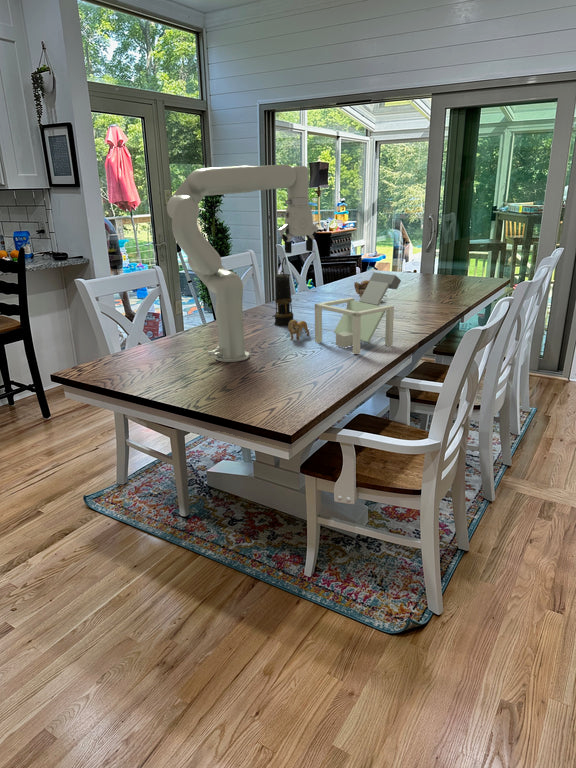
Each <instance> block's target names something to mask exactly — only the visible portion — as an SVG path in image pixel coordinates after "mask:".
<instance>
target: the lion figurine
mask: <svg viewBox="0 0 576 768" xmlns="http://www.w3.org/2000/svg"><path fill="white" fill-rule="evenodd" d="M287 327H288V328H287V329H288V332H289V333H290V338H289V340H290V341H293V340H294V335H295V336H296V338H295V339H296V341H298V342H299V341H300V337H301V336H302V334H303V332H302V331H303V329H304V330H305V334H306V337H307V336H308V337H310V330H309V329H308V324H307V322H306V321H305V320H300V321H298V320H297V319H294V320H291V321H290V322H289V325H288V326H287Z"/></svg>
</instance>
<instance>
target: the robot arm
mask: <svg viewBox="0 0 576 768" xmlns="http://www.w3.org/2000/svg"><path fill="white" fill-rule="evenodd" d="M280 189H287V190H286V191H287V199H285V201H284V202H285V204H286V205H287V207H286V209H285V217H284V225H283V226H282V227H280V228H279V229H278V231H277V232H278V234H279V237H280V239H282V242H284V253H285V254H292V253H293V252H292V246H293V245H292V241H291V240H292V238H293V237H303V236H305V238H306V240H305V250H306V251H307V252H313V251H314V250H313V249H314V248H313V247H314V245H313V243H314V240H315V238H316V236H317V234H318V230H319V227H318V226H317V225H315V224H314V221H313V212H312V208H311V206H309V205H310V203H309V202H310V201H309V199H310V198H309V194H310V193H309V169H308V167H307V166H305V165H289V164H271V165H237V166H222V167H221V166H219V167H216V166H215V167H203V168H199V169H197V168H196V169H194V170H193V171H192V172H191V173H190V174H189V175H187V177H186V178H185V180H184V181H183V182H181V185H179V187H178V188H177V189H176V190H175V192H174V193H173V194H172V195H171V196H170V198H169V199H168V202H167V204H166V212H167V214H168V216H169V218H171V219H172V220H171V229H172V234H173V238H174V239H175V241H176V243H177V245H178V246H179V247H180V249H181V250H182V252H183V253H184V254H185V255H186V256H187V264H188V265H189V267H190V269H191V271H193V273H194V274H195V275H196V276H197V278H198V279H199V280H200V281H201V282H202V283H203V285H204V286H205V287H206V288H207V289H209V291H210V292H211V293H213V294H215V296H216V300H215V316H216V329H217V330H216V331H217V341H218V345H217V346H216V347H215V349H213V350H208V351H206V355H207V357H208V358H209V357H212V356H213V357H214V358H215V360H216V361H218V362H223V363H236V362H241V361H245V360H248V359H249V357H250V352H248V351H246V348H245V331H244V315H243V314H244V313H243V297H244V296H243V295H244V283H243V281H242V279H241V277H240V276H239V275H238V274H237V273H236V272H234V271H231V270H228V269H226V268H225V267H224V266H223V265H222V261H223V260H222V257H221V256H220V254H219V253H218V251H217V250H216V249H215V248H214V247H213V246H212V244H210V242H209V241H208V240H207V239H206V237H205V236H204V234H203V233H202V232H201V230H200V228H199V225H198V218H199V214H200V206H199V204H200V203H201V201H202V200H203V199H204V197H205V196H217V195H229V194H230V195H231V194H232V195H233V194H234V195H235V194H242V193H243V194H244V193H245V194H246V193H250V192H251V193H252V192H257V191H264V190H265V191H266V190H268V191H269V190H280Z"/></svg>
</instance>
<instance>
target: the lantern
mask: <svg viewBox="0 0 576 768" xmlns="http://www.w3.org/2000/svg"><path fill="white" fill-rule="evenodd" d="M284 264H285V265H287V258H286V257H283V259H282V262H281V271H280V273H278V274H275V275H274V277H275V300H274V302H275V314H274V315H272V316H271V317H272V318H274V320H275V321H274V326H277V327H278V326H279V327H288V325H289V322H290V321H291V320H295V319H294V313H293V308H292V307H293V306H292V301H293V299H292V295H291V291H292V290H291V283H290V279H291V278H290V276H291V274H288V273H285V271H284V270H285V269H284Z"/></svg>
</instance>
